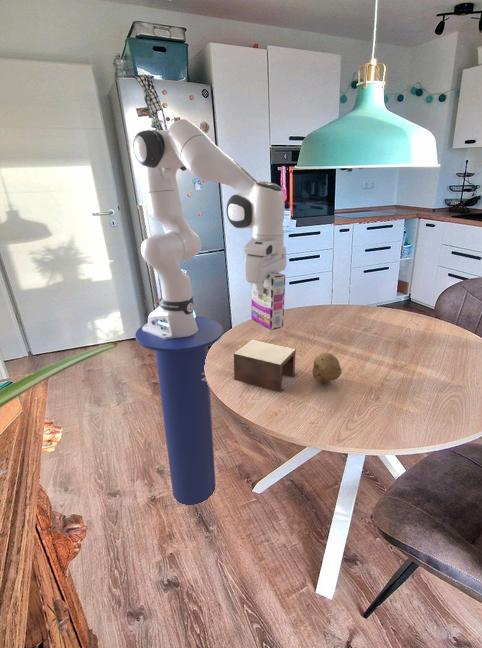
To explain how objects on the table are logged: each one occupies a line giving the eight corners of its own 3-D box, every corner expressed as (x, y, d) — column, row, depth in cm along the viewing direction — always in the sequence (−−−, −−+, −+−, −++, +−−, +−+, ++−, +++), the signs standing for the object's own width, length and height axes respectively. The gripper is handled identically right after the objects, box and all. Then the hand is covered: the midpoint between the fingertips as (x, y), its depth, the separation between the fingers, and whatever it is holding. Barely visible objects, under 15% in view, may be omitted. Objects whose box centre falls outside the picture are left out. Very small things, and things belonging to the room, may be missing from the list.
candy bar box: (284, 327, 118) (286, 275, 111) (270, 331, 115) (272, 277, 108) (263, 316, 126) (264, 266, 119) (250, 319, 123) (250, 268, 116)
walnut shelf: (234, 379, 124) (233, 353, 120) (252, 364, 134) (252, 339, 130) (279, 391, 119) (280, 364, 115) (294, 374, 129) (295, 349, 125)
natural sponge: (344, 380, 126) (347, 353, 122) (332, 392, 119) (335, 364, 115) (319, 372, 130) (321, 346, 126) (307, 384, 123) (308, 356, 119)
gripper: (273, 237, 120) (272, 280, 126) (240, 248, 103) (241, 298, 109) (292, 239, 118) (290, 283, 124) (261, 251, 101) (261, 301, 106)
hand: (267, 290), depth 116 cm, fingers closed on candy bar box, 6 cm apart
